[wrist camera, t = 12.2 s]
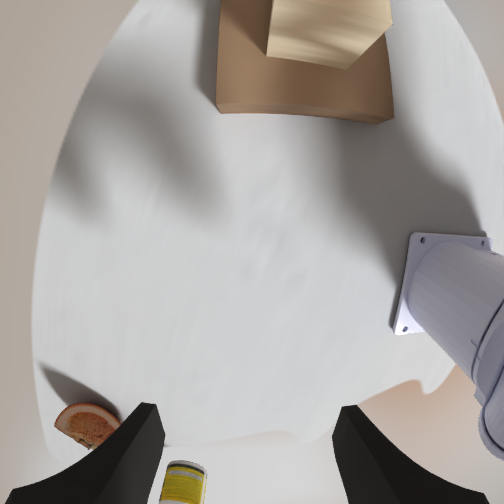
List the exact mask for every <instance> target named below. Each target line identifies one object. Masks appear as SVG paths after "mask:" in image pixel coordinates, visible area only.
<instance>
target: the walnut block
mask: <svg viewBox="0 0 504 504" xmlns="http://www.w3.org/2000/svg"><path fill="white" fill-rule="evenodd" d="M271 9H272V0H221V8H220V22H219V38H218V56H217V78H216V105H217V107H218V109H219V111H220V113H221V114H225V113H264V114H289V115H304V116H316V117H327V118H336V119H344V120H352V121H359V122H365V123H371V124H379V123H381V122H384V121H387V120H390V119H392V118H394V109H393V95H392V84H391V74H390V66H389V58H388V51H387V45H386V39H385V33H383V34H382V35H381V36H380V37H379V38H378V39H377V40H376V41H375V42H374V43H373V44H372V45H371V46H370V47H369V48H368V49H367V50H366V51H365V52H364V53H363V54H362V55H361V56H360V57H359V58H358V59H357V60H356V61H355V62H354V63H353V64H352V65H351V66H350V67H349V68H348V69H347V70H343V69H339V68H335V67H330V66H325V65H320V64H315V63H310V62H304V61H298V60H292V59H285V58H277V57H268V56H266V54H267V45H268V36H269V27H270V18H271Z"/></svg>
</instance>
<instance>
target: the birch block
mask: <svg viewBox="0 0 504 504" xmlns="http://www.w3.org/2000/svg"><path fill="white" fill-rule="evenodd" d="M392 25H393V24H392V16H391V8H390V1H389V0H272V9H271V18H270V27H269V36H268V45H267V54H266V56H268V57H277V58H285V59H292V60H298V61H304V62H310V63H315V64H320V65H325V66H330V67H335V68H339V69H343V70H347V69H348V68H349V67H350V66H351V65H352V64H353V63H354V62H355V61H356V60H357V59H358V58H359V57H360V56H361V55H362V54H363V53H364V52H365V51H366V50H367V49H368V48H369V47H370V46H371V45H372V44H373V43H374V42H375V41H376V40H377V39H378V38H379V37H380V36H381V35H382V34H383V33H384V32H385V31H386V30H387V29H388V28H390V27H391V26H392Z"/></svg>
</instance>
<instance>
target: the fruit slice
mask: <svg viewBox="0 0 504 504" xmlns="http://www.w3.org/2000/svg"><path fill="white" fill-rule="evenodd" d="M120 425H121V423H120V422H119V421H118V420H117V418H116V417H115V416H113V415H112V414H111V413H110V412H108V411H107V410H105V409H104V408H102V407H100V406H98V405H95V404H92V403H76V404H73V405H70V406H68V407H67V408H65V409H64V410H63V411H62V412H61V413H60V414H59V416H58V418H57V419H56V422H55V425H54V427H56V428H57V429H58V430H60V431H61V432H63V433H64V434H66V435H67V436H69V437H71V438H73V439H74V440H75V441H76V442H78V443H80V444H82V445H83V446H85V447H86V448H88V450H89V449H90V448H91V449H93V450H94V449H95V448H97V447H98V446H99V445H100V444H101V443H102V442H103V441H105V440H106V439H107V438H108V437H109V436H110V435H111V434H112V433H113V432H114V431H115V430H116V429H117V428H118V427H119V426H120Z"/></svg>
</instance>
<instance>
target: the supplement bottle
mask: <svg viewBox="0 0 504 504" xmlns="http://www.w3.org/2000/svg"><path fill="white" fill-rule="evenodd" d="M206 479H207V471H206V470H205V469H204V468H203V467H202V466H200V465H198V464H196V463H193V462H189V461H172V462H170V463H169V464H168V466H167V470H166V474H165V479H164V483H163V487H162V491H161V495H160V499H159V504H204V497H205V488H206Z"/></svg>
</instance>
